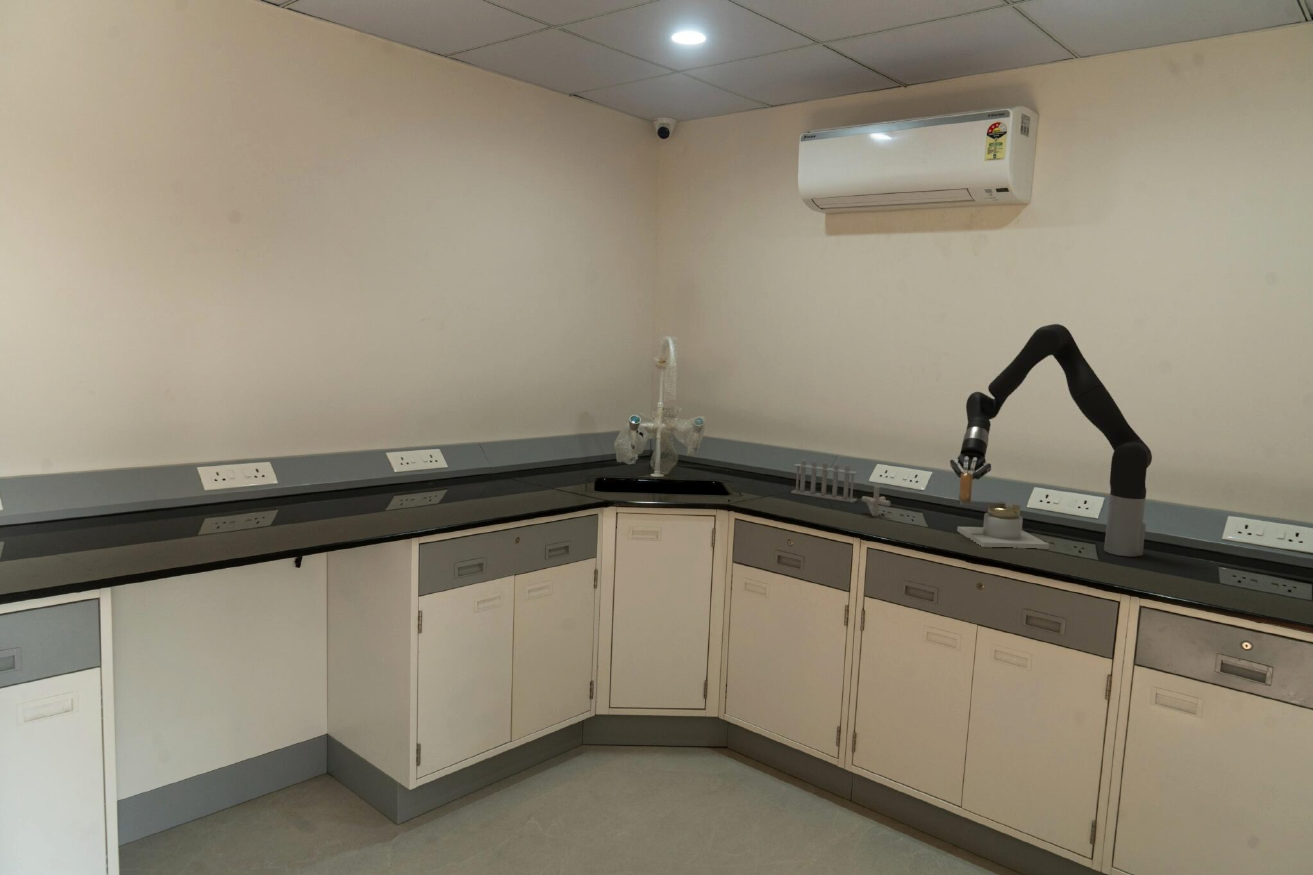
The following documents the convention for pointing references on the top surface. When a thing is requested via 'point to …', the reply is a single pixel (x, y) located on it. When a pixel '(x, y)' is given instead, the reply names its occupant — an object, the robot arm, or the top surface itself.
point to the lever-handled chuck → (994, 507)
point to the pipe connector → (876, 501)
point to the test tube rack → (825, 481)
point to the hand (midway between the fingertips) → (965, 487)
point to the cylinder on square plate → (1002, 534)
